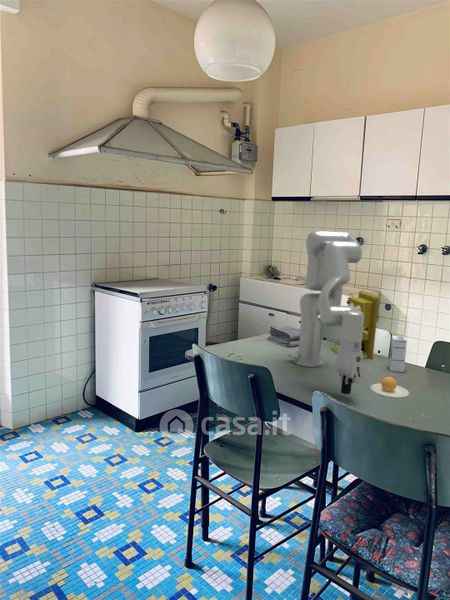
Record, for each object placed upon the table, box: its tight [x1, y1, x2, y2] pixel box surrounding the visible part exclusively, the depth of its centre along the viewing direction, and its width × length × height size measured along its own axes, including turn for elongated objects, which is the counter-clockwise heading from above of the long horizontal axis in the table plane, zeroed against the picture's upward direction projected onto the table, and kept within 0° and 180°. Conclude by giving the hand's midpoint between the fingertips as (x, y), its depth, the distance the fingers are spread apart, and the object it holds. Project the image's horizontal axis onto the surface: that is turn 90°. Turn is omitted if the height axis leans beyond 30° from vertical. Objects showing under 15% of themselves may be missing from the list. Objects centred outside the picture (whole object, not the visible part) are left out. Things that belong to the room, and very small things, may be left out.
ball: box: [380, 376, 398, 391], centre depth 173 cm, size 6×6×6 cm
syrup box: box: [388, 335, 408, 373], centre depth 198 cm, size 6×6×14 cm
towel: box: [266, 325, 300, 348], centre depth 236 cm, size 15×18×8 cm
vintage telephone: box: [331, 289, 380, 360], centre depth 219 cm, size 31×14×30 cm, turn 9°
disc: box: [370, 382, 410, 399], centre depth 174 cm, size 14×14×1 cm
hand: (345, 393), depth 165 cm, fingers closed
